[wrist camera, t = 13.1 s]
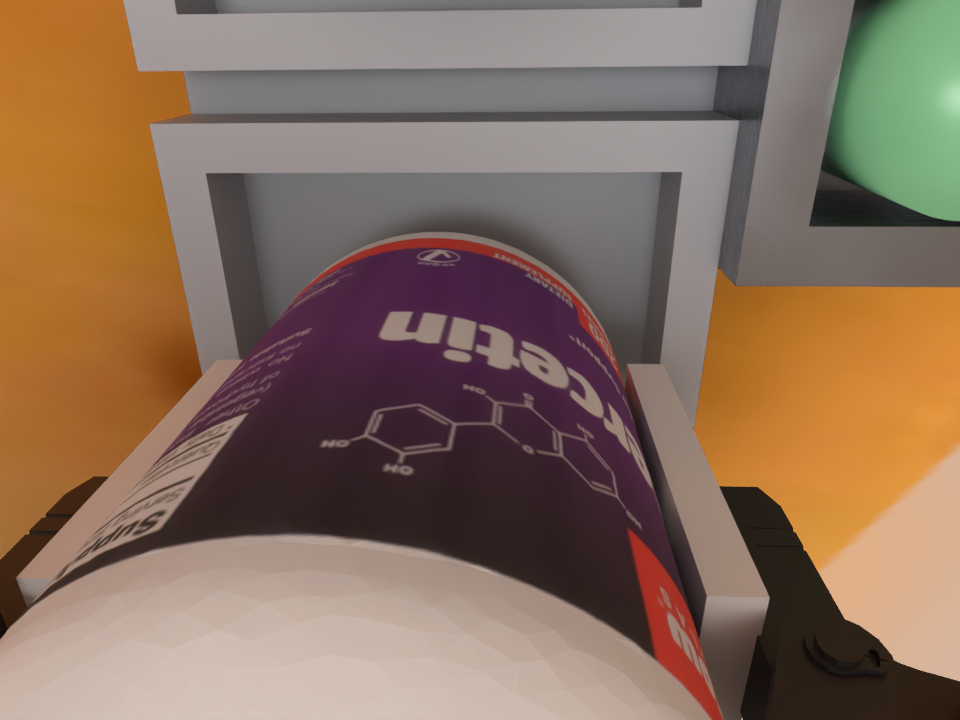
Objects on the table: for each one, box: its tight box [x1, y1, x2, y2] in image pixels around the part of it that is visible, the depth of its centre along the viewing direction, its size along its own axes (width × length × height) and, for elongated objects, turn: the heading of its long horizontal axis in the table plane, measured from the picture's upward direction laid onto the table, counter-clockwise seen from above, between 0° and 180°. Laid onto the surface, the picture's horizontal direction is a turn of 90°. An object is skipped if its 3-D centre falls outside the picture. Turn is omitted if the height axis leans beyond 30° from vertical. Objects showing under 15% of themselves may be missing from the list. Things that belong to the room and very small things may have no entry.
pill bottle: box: [0, 232, 724, 720], centre depth 10 cm, size 8×8×14 cm
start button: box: [821, 0, 960, 221], centre depth 13 cm, size 4×4×4 cm
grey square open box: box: [713, 0, 960, 287], centre depth 14 cm, size 7×7×4 cm
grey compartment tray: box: [123, 0, 757, 430], centre depth 15 cm, size 12×26×3 cm, turn 1°
